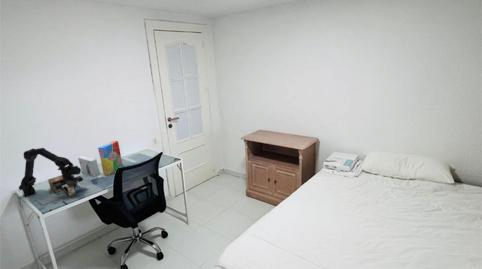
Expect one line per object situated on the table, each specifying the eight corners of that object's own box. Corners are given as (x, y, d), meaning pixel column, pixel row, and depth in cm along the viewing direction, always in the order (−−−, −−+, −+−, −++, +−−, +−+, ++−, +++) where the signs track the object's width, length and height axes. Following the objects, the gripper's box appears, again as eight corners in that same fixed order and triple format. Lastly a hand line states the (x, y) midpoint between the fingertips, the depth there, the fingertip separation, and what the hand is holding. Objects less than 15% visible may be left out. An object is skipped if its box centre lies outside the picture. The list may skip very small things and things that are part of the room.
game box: (108, 175, 227) (102, 147, 219) (103, 175, 228) (97, 147, 220) (123, 166, 246) (118, 140, 238) (118, 166, 247) (113, 140, 239)
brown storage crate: (54, 192, 199) (51, 182, 196) (50, 189, 204) (47, 179, 202) (76, 185, 211) (73, 175, 208) (72, 182, 216) (70, 172, 213)
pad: (42, 205, 181) (42, 205, 181) (39, 202, 185) (39, 202, 185) (67, 196, 193) (67, 195, 193) (64, 193, 197) (64, 193, 197)
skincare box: (81, 172, 235) (77, 157, 230) (86, 170, 239) (83, 155, 235) (94, 176, 225) (91, 160, 221) (100, 174, 230) (96, 158, 225)
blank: (69, 195, 194) (67, 188, 192) (63, 190, 202) (62, 183, 201) (75, 193, 197) (73, 186, 195) (69, 188, 205) (67, 182, 204)
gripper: (55, 181, 180) (61, 200, 184) (83, 172, 194) (87, 190, 198) (51, 177, 187) (56, 196, 191) (78, 169, 201) (82, 186, 205)
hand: (71, 192), depth 196 cm, fingers closed on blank, 4 cm apart
